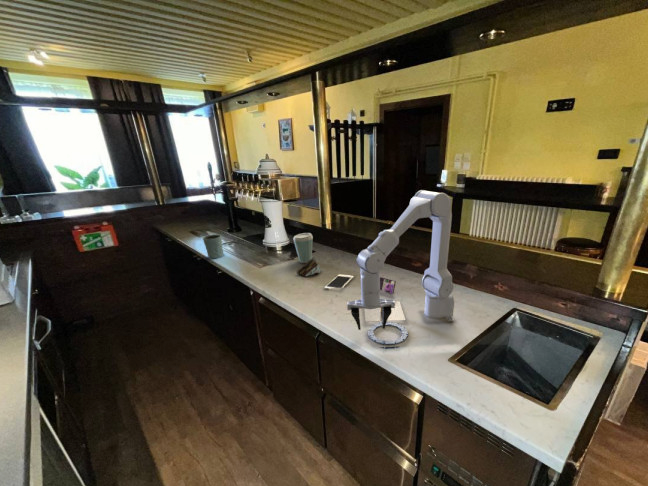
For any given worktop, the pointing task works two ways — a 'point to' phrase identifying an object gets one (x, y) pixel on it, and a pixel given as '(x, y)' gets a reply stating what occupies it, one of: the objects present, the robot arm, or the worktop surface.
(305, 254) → the disposable coffee cup
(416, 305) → the worktop surface
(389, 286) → the purple printed box
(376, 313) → the platform
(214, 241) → the grey green cup
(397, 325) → the ring
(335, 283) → the cell phone
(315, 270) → the chocolate cake
